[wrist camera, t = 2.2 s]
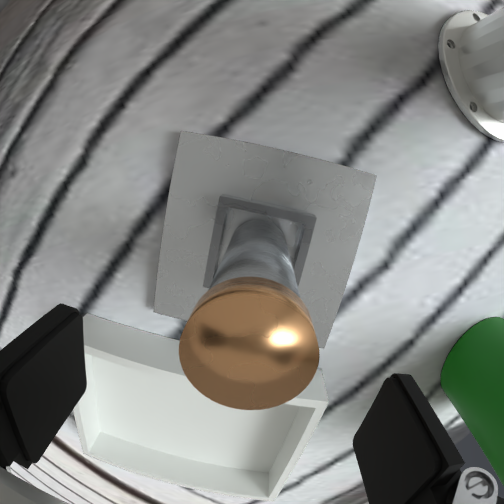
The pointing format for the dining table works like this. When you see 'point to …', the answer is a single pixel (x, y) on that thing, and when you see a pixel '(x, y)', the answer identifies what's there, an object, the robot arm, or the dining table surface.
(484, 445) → the motor
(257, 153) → the socket plate
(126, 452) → the bin
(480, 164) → the dining table surface
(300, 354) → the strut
